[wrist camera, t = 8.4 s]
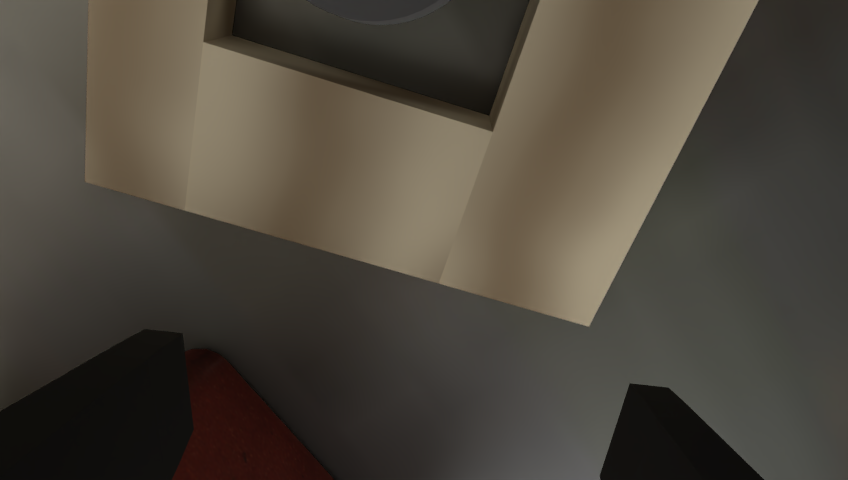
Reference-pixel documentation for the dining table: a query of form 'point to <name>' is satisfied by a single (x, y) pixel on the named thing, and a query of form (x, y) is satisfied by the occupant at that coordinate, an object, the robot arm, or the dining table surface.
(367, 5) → the grooved grey cylinder
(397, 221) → the wooden picture frame
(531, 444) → the dining table surface
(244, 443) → the plant pot
